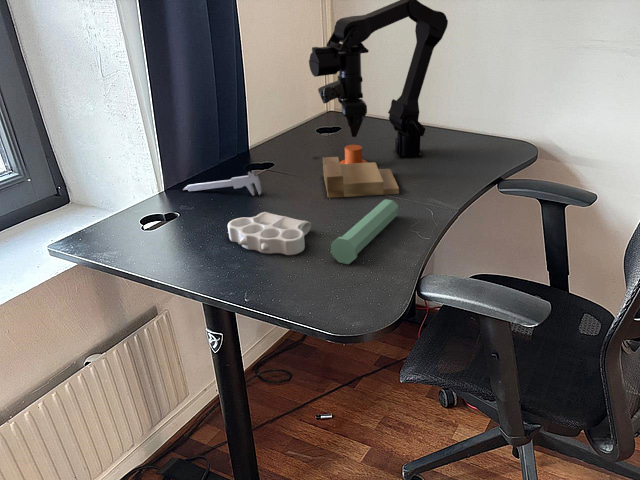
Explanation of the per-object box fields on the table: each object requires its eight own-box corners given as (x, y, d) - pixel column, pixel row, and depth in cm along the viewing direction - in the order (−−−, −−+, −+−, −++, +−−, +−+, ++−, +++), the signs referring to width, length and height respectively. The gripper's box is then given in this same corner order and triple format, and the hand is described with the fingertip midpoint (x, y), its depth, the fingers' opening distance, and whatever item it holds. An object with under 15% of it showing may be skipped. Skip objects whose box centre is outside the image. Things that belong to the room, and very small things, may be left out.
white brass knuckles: (324, 234, 135) (287, 263, 124) (256, 219, 142) (215, 245, 130) (323, 220, 134) (286, 248, 122) (254, 205, 140) (213, 231, 128)
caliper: (262, 194, 154) (259, 170, 150) (260, 196, 153) (258, 172, 149) (184, 189, 156) (180, 165, 152) (182, 191, 155) (178, 167, 151)
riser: (390, 173, 167) (390, 154, 164) (399, 193, 155) (399, 173, 152) (323, 177, 164) (322, 157, 161) (327, 197, 152) (326, 176, 149)
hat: (366, 159, 176) (365, 142, 173) (369, 169, 169) (369, 151, 167) (338, 160, 175) (337, 143, 172) (340, 170, 168) (340, 152, 165)
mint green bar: (385, 190, 141) (335, 232, 122) (406, 203, 141) (360, 247, 121) (376, 210, 145) (326, 254, 125) (397, 223, 144) (350, 269, 125)
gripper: (316, 65, 165) (320, 122, 174) (321, 81, 150) (325, 144, 158) (358, 63, 167) (359, 120, 175) (366, 80, 151) (367, 142, 160)
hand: (352, 131), depth 167 cm, fingers open, 9 cm apart
